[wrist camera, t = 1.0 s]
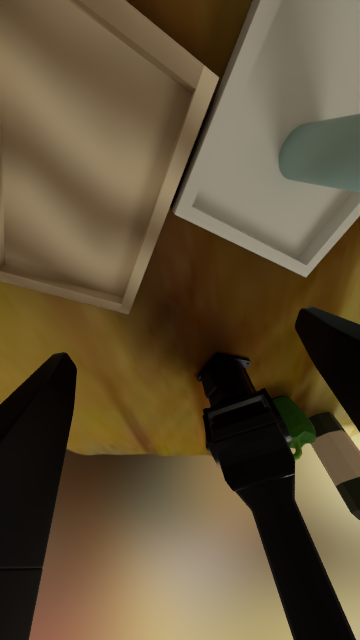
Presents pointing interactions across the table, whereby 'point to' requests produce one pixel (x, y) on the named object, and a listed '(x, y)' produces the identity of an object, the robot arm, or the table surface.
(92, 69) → the tray
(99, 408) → the table surface
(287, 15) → the white rimmed platter
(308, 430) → the bell pepper
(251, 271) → the table surface
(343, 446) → the wine bottle
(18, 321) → the table surface
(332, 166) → the pin
